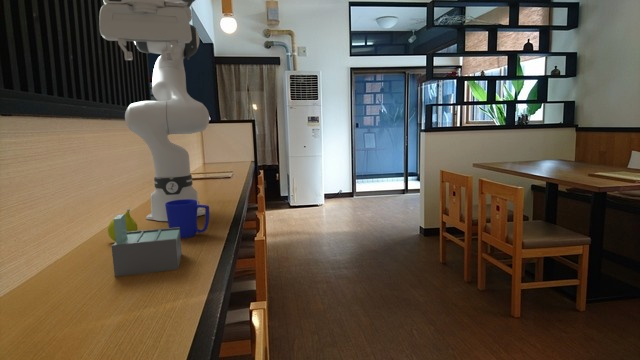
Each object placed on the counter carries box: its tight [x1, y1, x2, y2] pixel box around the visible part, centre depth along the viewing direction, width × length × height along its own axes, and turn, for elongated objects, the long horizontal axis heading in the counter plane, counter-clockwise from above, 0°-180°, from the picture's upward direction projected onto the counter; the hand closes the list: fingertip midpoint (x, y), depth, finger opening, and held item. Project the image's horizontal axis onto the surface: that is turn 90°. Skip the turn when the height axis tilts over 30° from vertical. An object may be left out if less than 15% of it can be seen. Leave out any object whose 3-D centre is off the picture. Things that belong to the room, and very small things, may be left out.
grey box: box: [111, 227, 183, 278], centre depth 82 cm, size 10×12×7 cm
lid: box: [113, 213, 180, 244], centre depth 81 cm, size 8×12×6 cm
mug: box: [165, 199, 210, 239], centre depth 103 cm, size 8×12×10 cm
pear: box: [107, 207, 139, 243], centre depth 101 cm, size 7×7×10 cm
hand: (150, 60), depth 92 cm, fingers open, 8 cm apart
